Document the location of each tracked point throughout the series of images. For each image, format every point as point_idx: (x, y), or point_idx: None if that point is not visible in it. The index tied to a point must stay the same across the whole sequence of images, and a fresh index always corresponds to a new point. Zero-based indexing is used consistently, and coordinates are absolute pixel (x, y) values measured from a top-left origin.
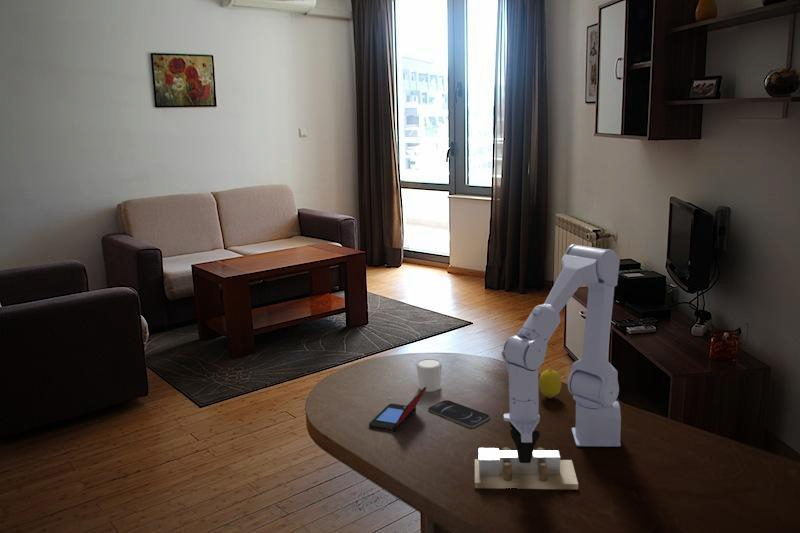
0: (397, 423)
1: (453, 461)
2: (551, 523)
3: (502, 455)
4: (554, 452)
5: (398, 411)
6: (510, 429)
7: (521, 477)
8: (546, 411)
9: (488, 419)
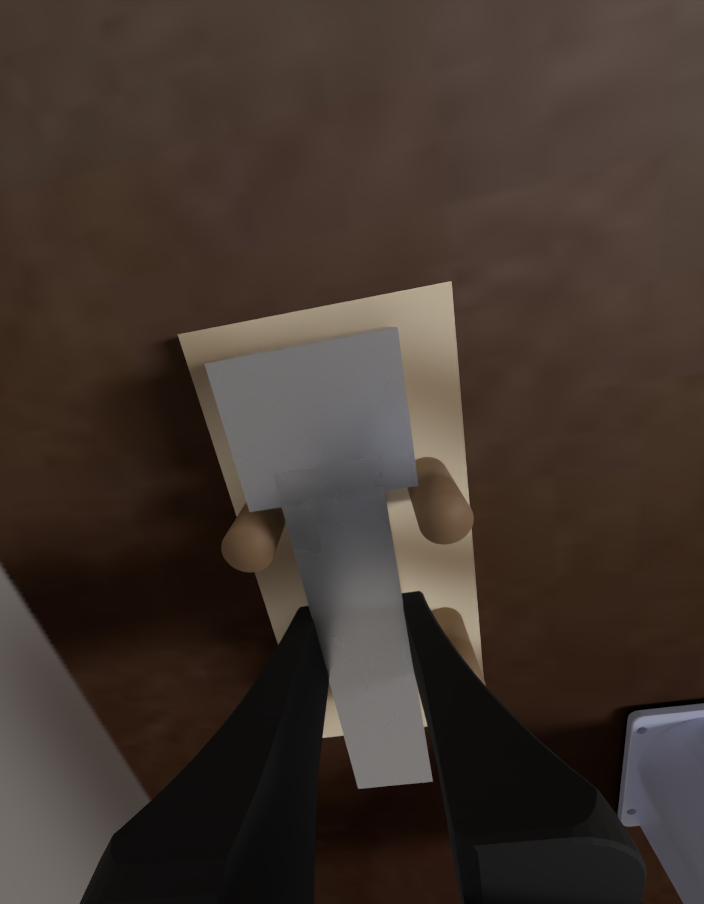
0: None
1: (466, 114)
2: (73, 653)
3: (314, 525)
4: (405, 768)
5: None
6: (208, 901)
7: None
8: None
9: None
